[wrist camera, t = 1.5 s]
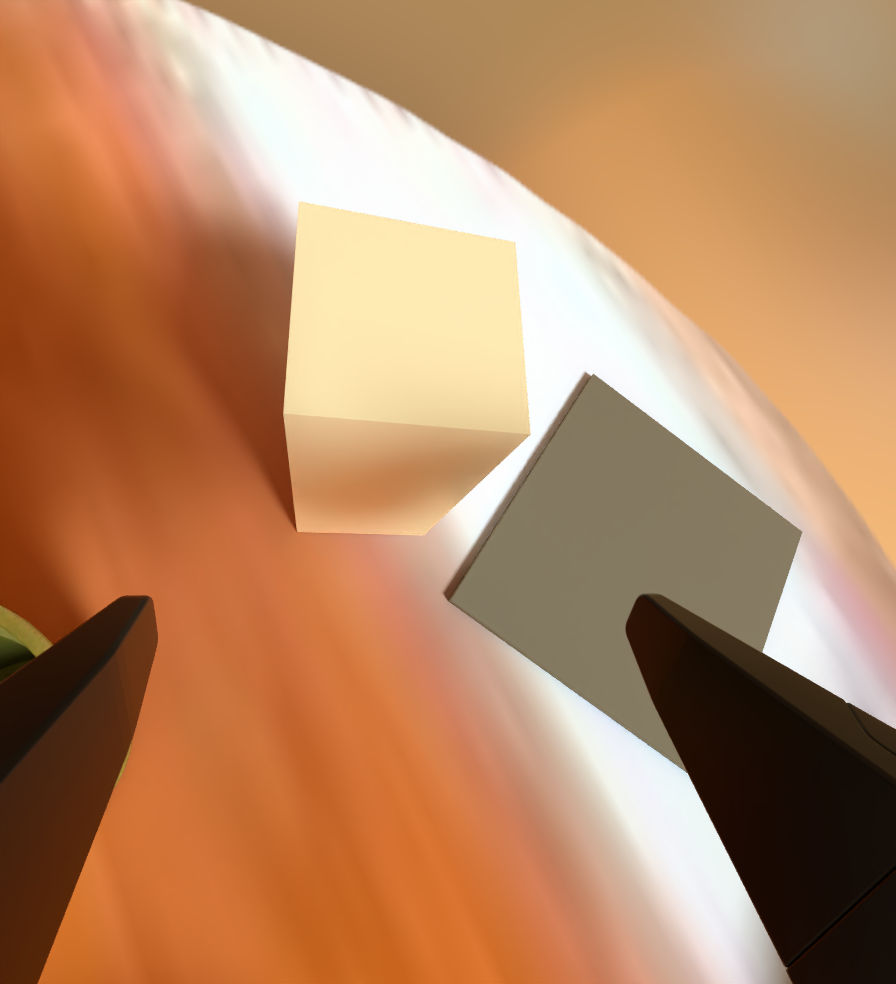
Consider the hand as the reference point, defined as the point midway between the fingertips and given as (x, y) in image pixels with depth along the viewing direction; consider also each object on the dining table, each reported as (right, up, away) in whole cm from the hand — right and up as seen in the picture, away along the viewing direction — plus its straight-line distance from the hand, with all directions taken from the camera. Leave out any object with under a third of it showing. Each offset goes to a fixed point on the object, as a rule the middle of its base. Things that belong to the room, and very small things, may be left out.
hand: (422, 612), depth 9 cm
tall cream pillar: (-3, +3, +14) cm, 15 cm away
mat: (+11, -1, +16) cm, 19 cm away
